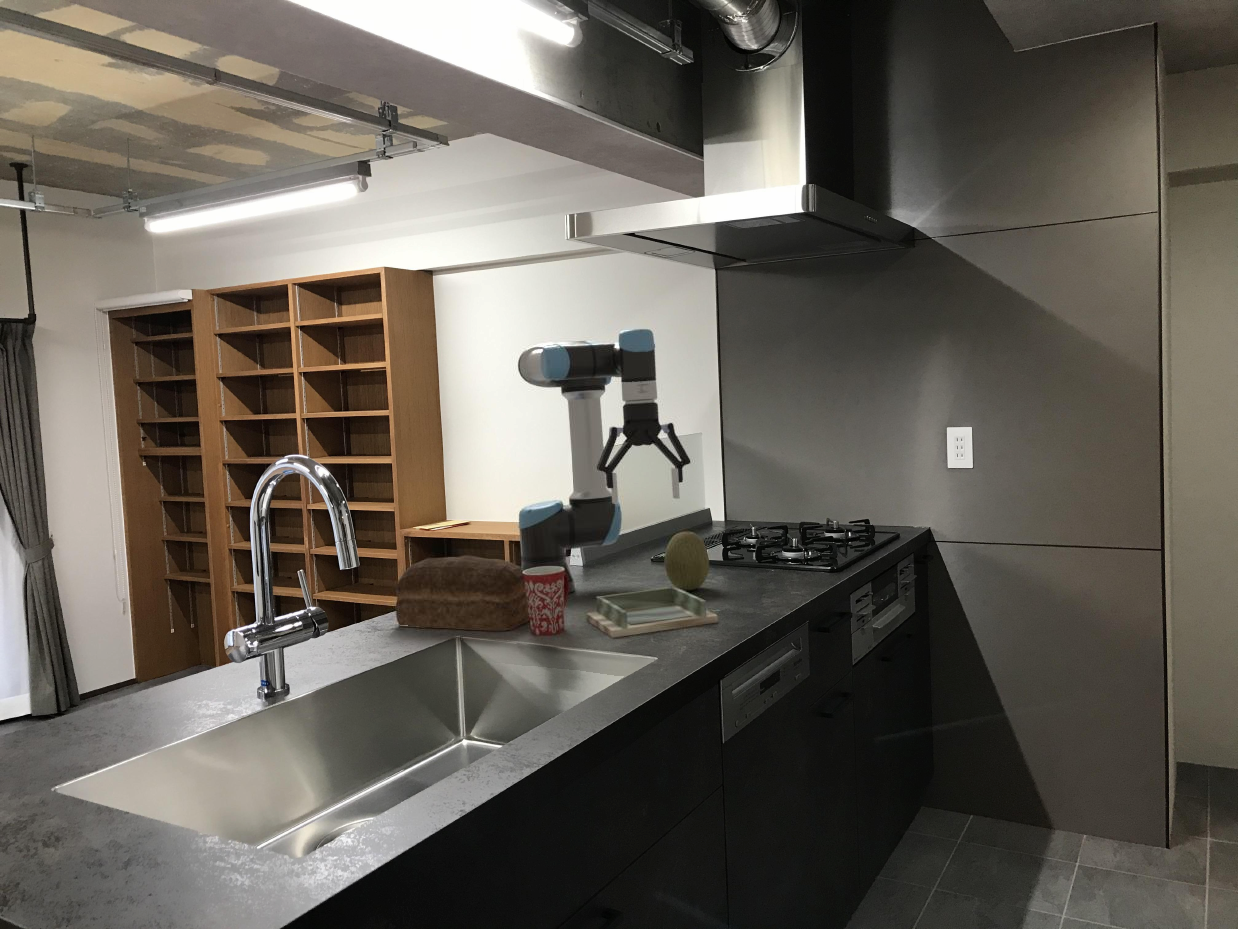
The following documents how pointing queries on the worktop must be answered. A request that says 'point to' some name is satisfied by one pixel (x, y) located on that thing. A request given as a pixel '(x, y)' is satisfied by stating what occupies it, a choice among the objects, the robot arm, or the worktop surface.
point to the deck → (649, 612)
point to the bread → (462, 594)
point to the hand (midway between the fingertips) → (645, 500)
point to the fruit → (686, 561)
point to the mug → (546, 598)
